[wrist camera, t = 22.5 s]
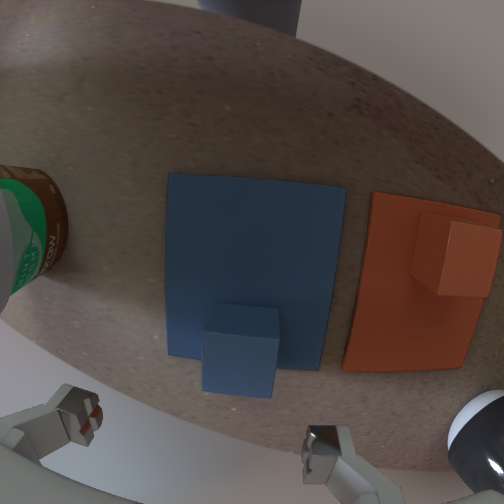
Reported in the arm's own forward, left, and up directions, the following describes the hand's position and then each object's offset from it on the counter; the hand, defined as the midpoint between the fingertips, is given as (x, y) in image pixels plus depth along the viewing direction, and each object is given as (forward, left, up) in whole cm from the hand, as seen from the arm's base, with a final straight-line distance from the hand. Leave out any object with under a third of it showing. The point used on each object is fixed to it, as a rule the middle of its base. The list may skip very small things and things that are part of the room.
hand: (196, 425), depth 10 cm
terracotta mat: (-2, +15, -13) cm, 20 cm away
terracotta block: (-5, +15, -13) cm, 20 cm away
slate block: (+3, +1, -13) cm, 13 cm away
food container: (-4, -16, -13) cm, 21 cm away
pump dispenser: (+12, +27, -13) cm, 32 cm away
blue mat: (-2, +1, -13) cm, 13 cm away
